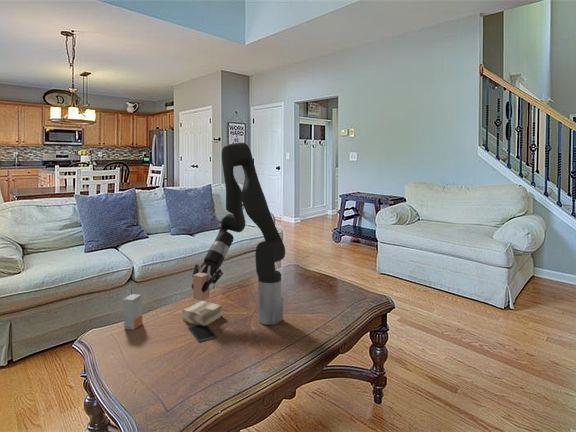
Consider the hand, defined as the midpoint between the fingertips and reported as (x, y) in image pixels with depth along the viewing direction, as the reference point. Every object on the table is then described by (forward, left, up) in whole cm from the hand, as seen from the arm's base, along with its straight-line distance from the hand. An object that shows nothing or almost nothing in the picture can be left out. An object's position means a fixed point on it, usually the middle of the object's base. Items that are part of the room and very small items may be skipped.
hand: (198, 289), depth 151 cm
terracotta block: (0, -2, -4) cm, 5 cm away
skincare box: (+18, +17, -13) cm, 28 cm away
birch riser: (-1, -2, -13) cm, 13 cm away
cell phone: (-9, +8, -13) cm, 18 cm away
